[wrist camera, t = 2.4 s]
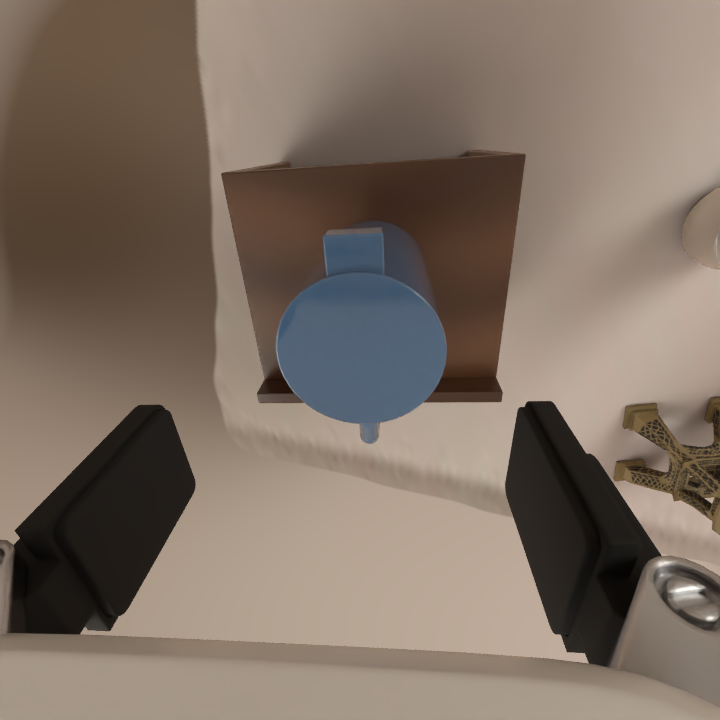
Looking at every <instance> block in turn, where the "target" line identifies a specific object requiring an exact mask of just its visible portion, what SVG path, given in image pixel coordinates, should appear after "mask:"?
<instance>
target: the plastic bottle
mask: <svg viewBox="0 0 720 720" xmlns="http://www.w3.org/2000/svg"><path fill="white" fill-rule="evenodd" d="M681 239H682V245H683V248H684V250H685V251H686V253H687V254H688V255H689V256H691V257H692V258H693V259H695V260H696V261H697V262H699V263H700V264H702V265H704V266H706V267H709V268H713V269H719V270H720V187H718V188H716V189H715V190H713V191H712V192H710V193H709V194H707V195H706V196H705V197H704V198H702V199H701V200H700V201H699V202H698V203H697V204H696V205H695V206H694V207H693V208H692V210H691V211H690V212H689V214H688V215H687V217H686V219H685V221H684V224H683V228H682V237H681Z"/></svg>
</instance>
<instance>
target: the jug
mask: <svg viewBox="0 0 720 720" xmlns="http://www.w3.org/2000/svg"><path fill="white" fill-rule="evenodd" d="M322 239H323V249H324V251H323V252H322V254H321V256H320V257H319V259H318V260H317V262H316V263H315V265H314V266H313V268H312V269H311V271H310V273H309V274H308V276H307V277H306V279H305V280H304V282H303V283H302V285H301V286H300V288H299V290H298V291H297V293H296V294H295V296H294V297H293V299H292V300H291V302H290V303H289V305H288V307H287V308H286V310H285V312H284V314H283V315H282V317H281V320H280V323H279V326H278V329H277V335H276V355H277V360H278V364H279V367H280V370H281V372H282V375H283V377H284V379H285V380H286V382H287V384H288V385H289V387H290V388H291V389H292V391H293V392H294V393H295V394H296V395H297V396H298V397H299V398H300V399H301V400H302V401H303V402H304V403H306V404H307V405H308V406H309V407H311V408H312V409H314V410H316V411H317V412H319V413H321V414H323V415H325V416H328V417H330V418H333V419H336V420H340V421H343V422H349V423H357V424H360V436H361V439H362V440H363V441H364V442H365V443H368V444H372V443H374V442H376V441H377V439H378V437H379V423H380V422H386V421H389V420H393V419H396V418H398V417H401V416H403V415H405V414H407V413H409V412H411V411H413V410H414V409H415V408H417V407H418V406H420V405H421V404H422V403H423V402H424V401H425V400H426V399H427V398H428V397H429V396H430V395H431V394H432V392H433V391H434V390H435V388H436V386H437V385H438V383H439V381H440V379H441V377H442V375H443V372H444V368H445V365H446V358H447V343H446V337H445V332H444V328H443V325H442V321H441V317H440V314H439V310H438V306H437V302H436V299H435V295H434V291H433V288H432V284H431V280H430V276H429V273H428V269H427V265H426V262H425V258H424V255H423V253H422V251H421V249H420V247H419V245H418V244H417V242H416V241H415V240H414V239H413V238H412V236H411V235H409V234H408V233H407V232H406V231H405V230H403V229H401V228H400V227H398V226H396V225H394V224H391V223H388V222H384V221H378V220H368V221H361V222H358V223H354V224H352V225H349V226H347V227H346V228H344V229H336V230H327V231H326V232H325V234H324V235H323V237H322Z"/></svg>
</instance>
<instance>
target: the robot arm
mask: <svg viewBox="0 0 720 720" xmlns="http://www.w3.org/2000/svg"><path fill="white" fill-rule="evenodd" d="M505 489H506V496H507V499H508V502H509V505H510V508H511V511H512V514H513V517H514V520H515V523H516V526H517V529H518V532H519V535H520V538H521V541H522V544H523V547H524V550H525V553H526V556H527V559H528V562H529V565H530V568H531V571H532V574H533V577H534V580H535V583H536V586H537V589H538V592H539V595H540V598H541V601H542V604H543V607H544V609H545V613H546V616H547V619H548V622H549V625H550V627H551V629H552V631H553V633H554V634H561V636H562V639H563V642H564V645H565V648H566V650H567V652H576V653H585V654H586V657H587V659H588V662H589V664H587V663H579V662H571V661H563V660H555V659H546V658H533V657H518V656H504V655H490V654H476V653H461V652H442V651H424V650H405V649H386V648H385V649H384V648H367V647H348V646H347V647H346V646H328V645H306V644H285V643H265V642H243V641H222V640H221V641H220V640H200V639H177V638H152V637H128V636H126V637H125V636H104V635H80V633H81V631H82V630H83V628H84V627H86V628H87V629H88V630H96V631H110V630H111V628H112V627H113V625H114V623H115V622H116V620H117V618H118V616H121V615H122V614H124V613H125V612H126V610H127V609H128V608H129V606H130V604H131V602H132V601H133V599H134V597H135V595H136V593H137V592H138V590H139V588H140V586H141V585H142V583H143V581H144V579H145V578H146V576H147V574H148V572H149V571H150V569H151V567H152V565H153V564H154V562H155V560H156V558H157V557H158V555H159V553H160V551H161V549H162V548H163V546H164V544H165V542H166V540H167V539H168V537H169V535H170V534H171V532H172V530H173V528H174V527H175V525H176V523H177V521H178V519H179V518H180V516H181V514H182V513H183V511H184V509H185V507H186V506H187V504H188V502H189V500H190V499H191V497H192V495H193V493H194V490H195V479H194V476H193V473H192V470H191V468H190V465H189V462H188V459H187V457H186V454H185V451H184V448H183V446H182V443H181V440H180V437H179V435H178V432H177V429H176V426H175V424H174V421H173V418H172V415H171V413H170V412H169V411H168V410H165V408H164V407H163V406H162V405H139V406H137V407H135V408H134V409H133V410H132V411H131V412H130V414H128V416H127V417H125V418H124V419H123V421H122V422H121V423H120V424H119V425H118V426H117V427H116V428H115V429H114V430H113V431H112V432H111V433H110V434H109V435H108V436H107V437H106V438H105V439H104V440H103V441H102V442H101V443H100V444H99V445H98V446H97V447H96V448H95V449H94V450H93V451H92V452H91V453H90V454H89V455H88V456H87V457H86V458H85V459H84V460H83V461H82V462H81V463H80V464H79V465H78V466H77V467H76V468H75V470H73V471H72V473H71V474H70V475H69V476H68V477H67V478H66V479H65V480H64V481H63V482H62V483H61V484H60V485H59V486H58V487H57V488H56V489H55V490H54V491H53V492H52V493H51V494H50V495H49V496H48V497H47V498H46V499H45V500H44V501H43V502H42V503H41V504H40V506H38V507H37V508H36V509H35V510H34V511H33V512H32V513H31V514H30V515H29V516H28V517H27V518H26V520H25V521H23V523H22V524H21V525H20V526H19V527H18V528H17V529H16V530H15V532H16V533H17V534H18V536H19V537H20V539H19V540H18V541H17V542H16V543H15V544H14V545H13V544H11V543H10V542H9V541H7V540H0V720H720V576H718V575H717V574H715V573H714V572H712V571H710V570H709V569H707V568H705V567H704V566H702V565H700V564H697V563H695V562H692V561H690V560H687V559H684V558H679V557H674V556H661V554H660V553H659V551H658V550H657V548H656V547H655V545H654V544H653V542H652V541H651V539H650V538H649V536H648V535H647V533H646V532H645V530H644V529H643V527H642V526H641V524H640V523H639V521H638V520H637V518H636V517H635V515H634V514H633V512H632V511H631V509H630V508H629V506H628V505H627V503H626V502H625V500H624V499H623V497H622V496H621V494H620V493H619V491H618V490H617V488H616V487H615V485H614V484H613V482H612V481H611V479H610V478H609V476H608V475H607V473H606V472H605V470H604V469H603V467H602V466H601V464H600V463H599V461H598V460H597V459H596V458H595V456H593V455H591V454H586V453H585V451H584V450H583V448H582V446H581V445H580V443H579V442H578V440H577V439H576V437H575V436H574V434H573V432H572V431H571V429H570V428H569V426H568V425H567V423H566V421H565V420H564V418H563V417H562V415H561V414H560V412H559V411H558V409H557V407H556V406H555V404H554V403H553V402H551V401H528V402H527V403H526V405H525V407H520V408H519V409H518V412H517V418H516V423H515V429H514V435H513V441H512V447H511V453H510V459H509V465H508V471H507V477H506V483H505Z"/></svg>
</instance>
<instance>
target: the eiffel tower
mask: <svg viewBox="0 0 720 720" xmlns="http://www.w3.org/2000/svg"><path fill="white" fill-rule="evenodd" d="M704 420H705V421H707V422H708V423H713V427H714V443H713V444H712V445H711V446H708V447H695V446H686V445H681V444H679V443H678V442H677V441H676V439H675V438H674V436H673V435H672V434H671V432H670V431H669V429H668V428H667V427H666V425H665V424H664V422H663V421H662V420H661V418H660V417H659V415H658V410H657V404H656V403H653V404H643V405H633V406H626V411H625V417H624V422H623V428H624V429H626V428H629V429H630V430H635V432H637V433H639V434H640V435H642V436H643V437H645V438H647V439H648V440H650V441H651V442H653V443H655V444H656V445H658V446H660V447H661V448H663V449H664V450H666V451H668V456H669V470H668V472H666V473H665V472H661V471H658V470H654V469H651V468H647V467H646V463H645V461H644V460H630V461H617V462H616V468H615V474H614V480H615V481H622V480H626V481H628V482H630V483H633V484H636V485H640V486H644V487H647V488H651V489H655V490H658V491H662V492H666V493H670V494H672V495H673V499H674V501H678V500H681V501H683V502H685V503H687V504H689V505H691V506H693V507H694V508H695V509H697V510H698V511H699V512H701V513H702V514H703V515H705V516H706V517H707V518H709V519H710V520H712V522H713V523H712V530H714V531H715V532H716V533H718V534H719V535H720V397H715V398H711V399H710V402H709V405H708V409H707V412H706V415H705V419H704ZM690 476H692V477H690ZM689 477H690V478H689ZM711 497H715V498H714V500H713V503H712V504H711V503H710V502H709V501H707V500H706V499H704V498H711Z"/></svg>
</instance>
